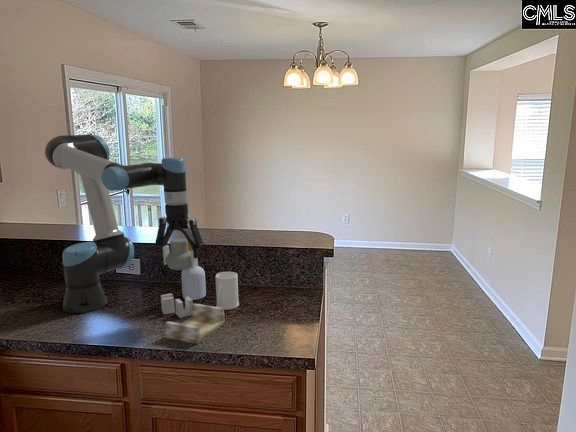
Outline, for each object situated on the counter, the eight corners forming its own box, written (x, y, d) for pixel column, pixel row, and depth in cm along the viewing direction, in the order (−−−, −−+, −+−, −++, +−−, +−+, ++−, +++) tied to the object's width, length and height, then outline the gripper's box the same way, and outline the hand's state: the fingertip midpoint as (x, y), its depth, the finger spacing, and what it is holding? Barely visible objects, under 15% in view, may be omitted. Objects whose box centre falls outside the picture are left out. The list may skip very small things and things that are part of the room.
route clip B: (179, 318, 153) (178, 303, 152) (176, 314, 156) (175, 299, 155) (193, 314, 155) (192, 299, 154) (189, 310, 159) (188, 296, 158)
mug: (228, 314, 155) (226, 283, 153) (207, 311, 158) (205, 280, 156) (243, 302, 166) (242, 272, 163) (223, 299, 169) (222, 270, 166)
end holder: (165, 337, 139) (164, 323, 138) (195, 316, 154) (194, 303, 153) (197, 344, 134) (196, 329, 133) (225, 321, 150) (224, 307, 149)
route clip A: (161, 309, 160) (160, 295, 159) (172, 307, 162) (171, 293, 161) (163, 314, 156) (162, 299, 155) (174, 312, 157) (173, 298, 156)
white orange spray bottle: (210, 293, 175) (207, 234, 170) (198, 301, 167) (194, 240, 162) (190, 290, 178) (187, 232, 173) (178, 299, 170) (174, 238, 165)
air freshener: (169, 264, 157) (167, 237, 155) (192, 262, 158) (191, 235, 156) (168, 274, 146) (165, 245, 144) (193, 271, 148) (191, 243, 146)
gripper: (141, 203, 149) (146, 265, 153) (199, 206, 140) (203, 271, 144) (155, 200, 155) (160, 259, 160) (211, 202, 147) (215, 265, 151)
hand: (180, 265), depth 152 cm, fingers closed on air freshener, 11 cm apart
